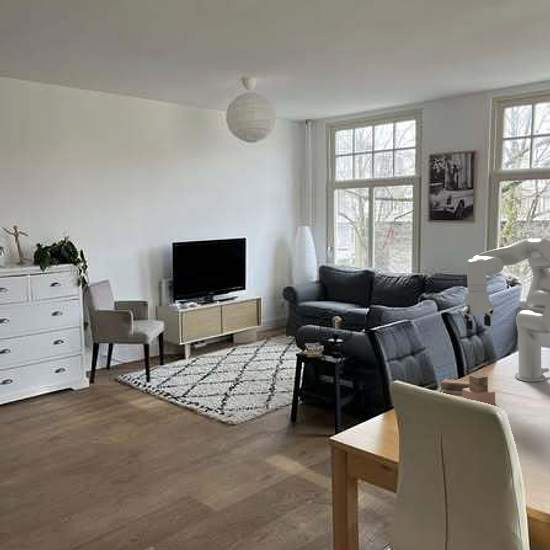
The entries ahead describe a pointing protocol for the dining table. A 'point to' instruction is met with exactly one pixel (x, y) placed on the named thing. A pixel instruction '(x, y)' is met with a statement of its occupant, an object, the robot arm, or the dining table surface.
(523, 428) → the dining table surface
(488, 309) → the robot arm
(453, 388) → the packaged product
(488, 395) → the base block
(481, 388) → the walnut block
